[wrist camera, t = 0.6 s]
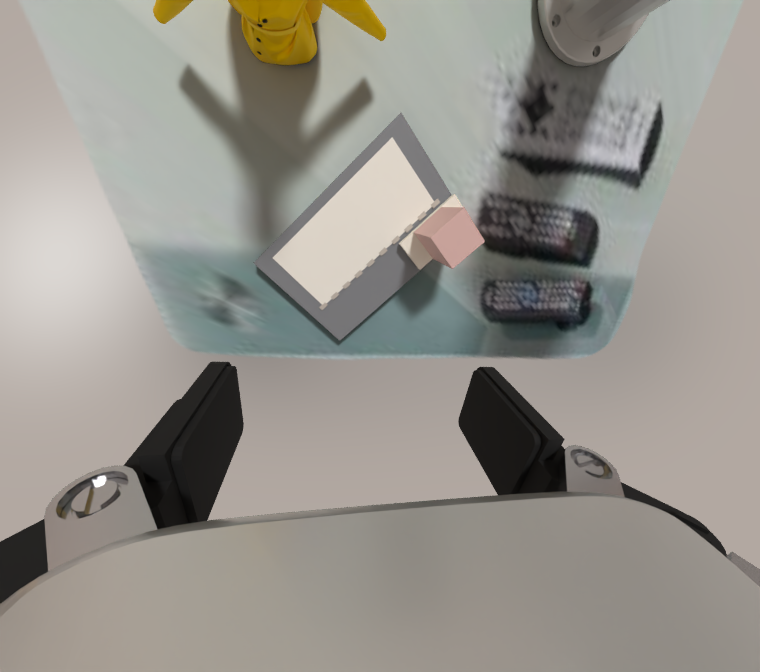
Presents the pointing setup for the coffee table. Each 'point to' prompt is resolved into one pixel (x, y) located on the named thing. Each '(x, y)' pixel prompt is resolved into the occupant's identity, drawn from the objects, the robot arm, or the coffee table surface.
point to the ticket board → (358, 232)
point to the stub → (443, 236)
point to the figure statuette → (284, 24)
